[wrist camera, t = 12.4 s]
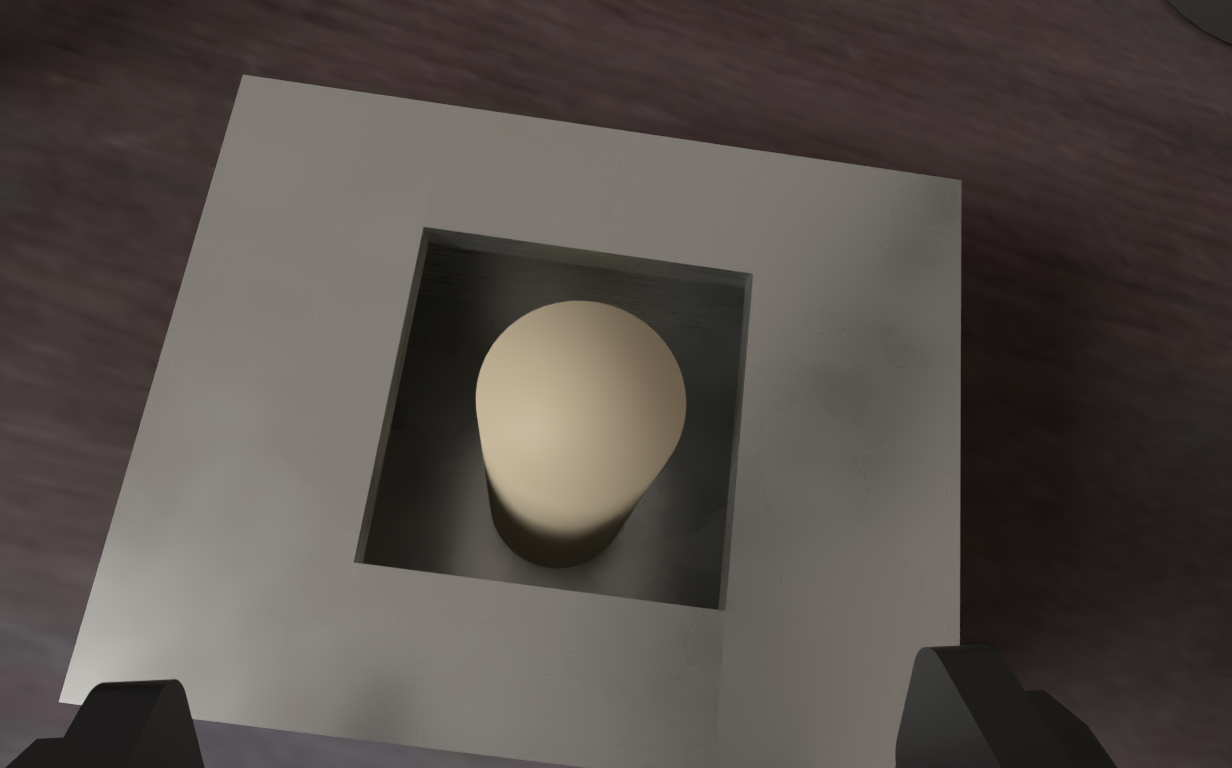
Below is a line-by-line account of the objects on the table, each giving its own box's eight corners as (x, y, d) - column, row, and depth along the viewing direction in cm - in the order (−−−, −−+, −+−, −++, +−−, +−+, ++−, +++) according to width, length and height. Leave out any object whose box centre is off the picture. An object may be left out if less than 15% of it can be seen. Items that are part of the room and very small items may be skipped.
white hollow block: (829, 337, 30) (961, 180, 20) (807, 762, 26) (959, 813, 16) (341, 268, 29) (242, 74, 20) (241, 691, 25) (58, 702, 16)
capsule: (633, 443, 28) (695, 317, 18) (617, 577, 26) (674, 516, 17) (501, 424, 27) (495, 285, 18) (479, 557, 26) (457, 485, 17)
